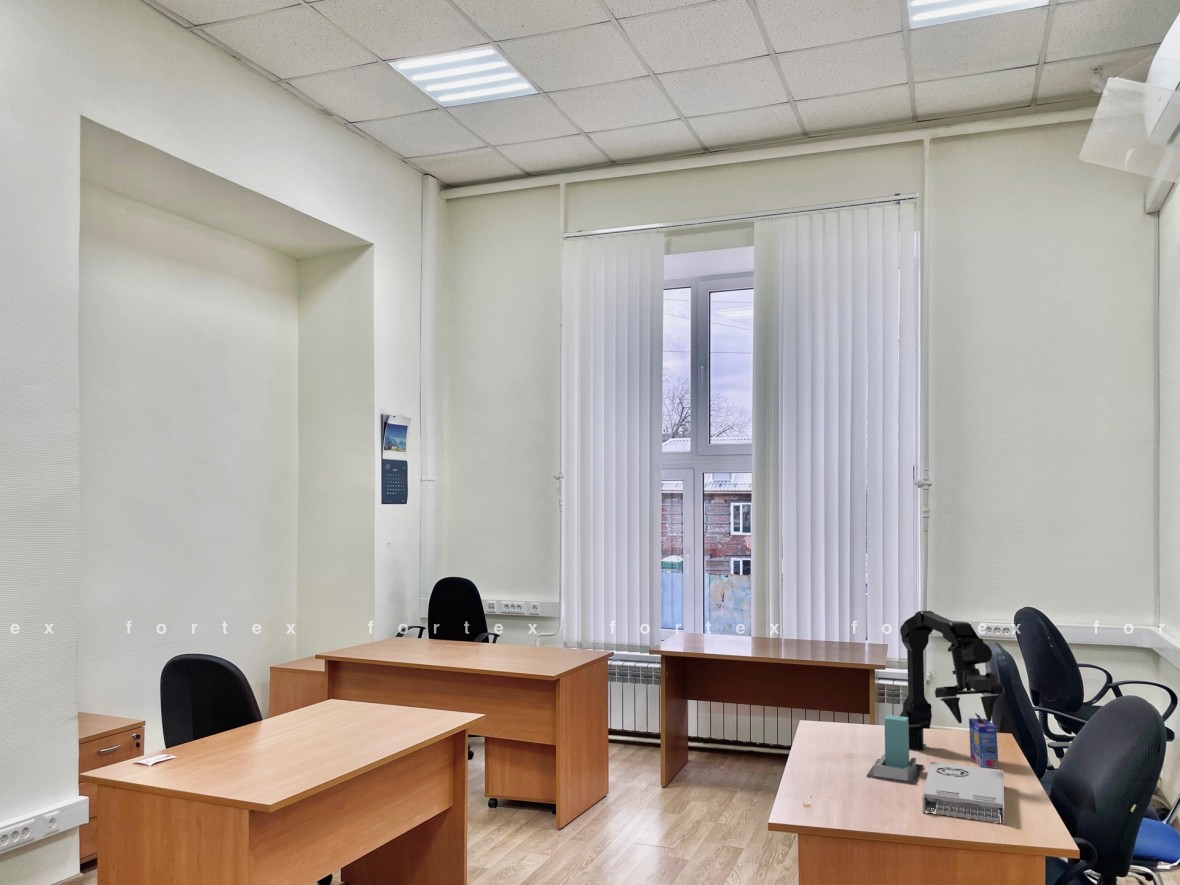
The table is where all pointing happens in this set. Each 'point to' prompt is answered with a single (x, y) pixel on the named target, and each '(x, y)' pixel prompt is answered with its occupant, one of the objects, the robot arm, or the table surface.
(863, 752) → the table surface
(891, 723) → the block
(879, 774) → the chute
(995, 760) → the ink cartridge box
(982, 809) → the power supply unit
